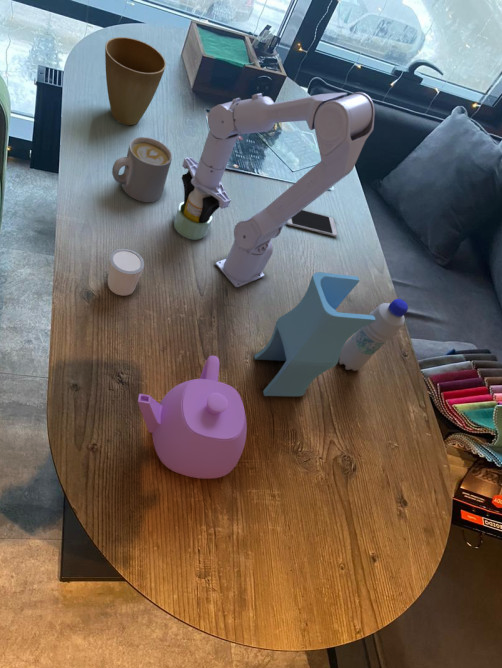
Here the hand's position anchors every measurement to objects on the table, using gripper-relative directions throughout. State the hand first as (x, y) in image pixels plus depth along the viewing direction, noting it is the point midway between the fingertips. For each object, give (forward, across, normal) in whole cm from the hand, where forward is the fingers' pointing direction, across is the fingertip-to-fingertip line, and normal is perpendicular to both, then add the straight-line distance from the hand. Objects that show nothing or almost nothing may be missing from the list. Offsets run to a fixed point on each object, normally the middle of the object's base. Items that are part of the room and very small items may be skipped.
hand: (195, 212), depth 117 cm
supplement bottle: (+3, 0, 0) cm, 3 cm away
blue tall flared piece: (+4, +43, -9) cm, 44 cm away
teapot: (+4, +43, -36) cm, 56 cm away
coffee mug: (+4, -16, -5) cm, 17 cm away
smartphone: (+4, +10, +35) cm, 37 cm away
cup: (+4, 0, 0) cm, 4 cm away
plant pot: (+4, -41, +9) cm, 42 cm away
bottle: (+4, +48, +9) cm, 49 cm away
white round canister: (+4, +9, -26) cm, 28 cm away
